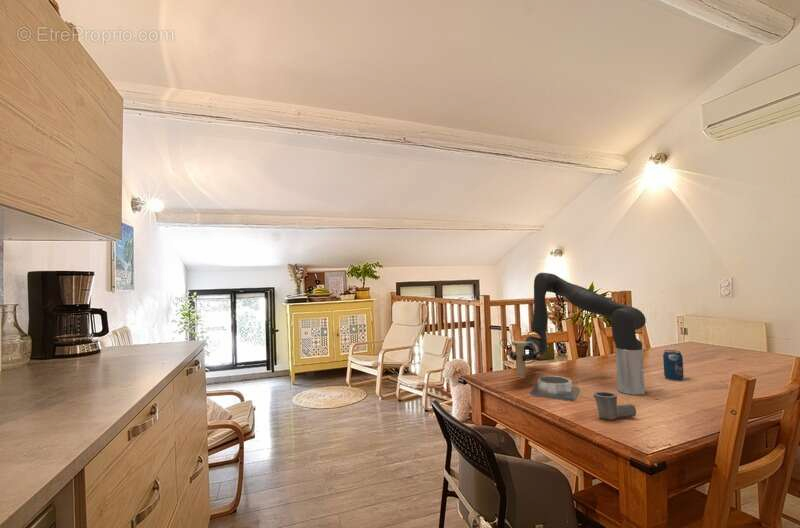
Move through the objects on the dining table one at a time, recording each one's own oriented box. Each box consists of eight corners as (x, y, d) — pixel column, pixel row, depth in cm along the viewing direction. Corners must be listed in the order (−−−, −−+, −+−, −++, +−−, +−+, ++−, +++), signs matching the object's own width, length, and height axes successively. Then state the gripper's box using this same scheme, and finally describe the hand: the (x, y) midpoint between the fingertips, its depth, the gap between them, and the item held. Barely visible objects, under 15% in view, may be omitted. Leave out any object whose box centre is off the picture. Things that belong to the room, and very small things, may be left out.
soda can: (681, 381, 160) (679, 353, 161) (662, 378, 166) (660, 351, 166) (685, 378, 165) (684, 351, 165) (667, 375, 170) (665, 349, 170)
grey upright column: (518, 374, 165) (516, 340, 165) (531, 377, 160) (529, 341, 160) (511, 376, 162) (509, 341, 162) (524, 379, 157) (522, 343, 157)
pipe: (639, 421, 121) (638, 395, 121) (599, 422, 121) (598, 397, 121) (628, 414, 127) (627, 390, 127) (590, 415, 127) (589, 391, 127)
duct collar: (579, 389, 154) (578, 377, 154) (574, 401, 141) (573, 387, 141) (538, 384, 163) (538, 373, 163) (530, 395, 149) (529, 382, 149)
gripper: (512, 341, 177) (501, 348, 162) (543, 343, 170) (535, 350, 155) (513, 357, 177) (502, 366, 162) (544, 360, 169) (536, 369, 155)
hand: (518, 358), depth 159 cm, fingers closed on grey upright column, 3 cm apart
